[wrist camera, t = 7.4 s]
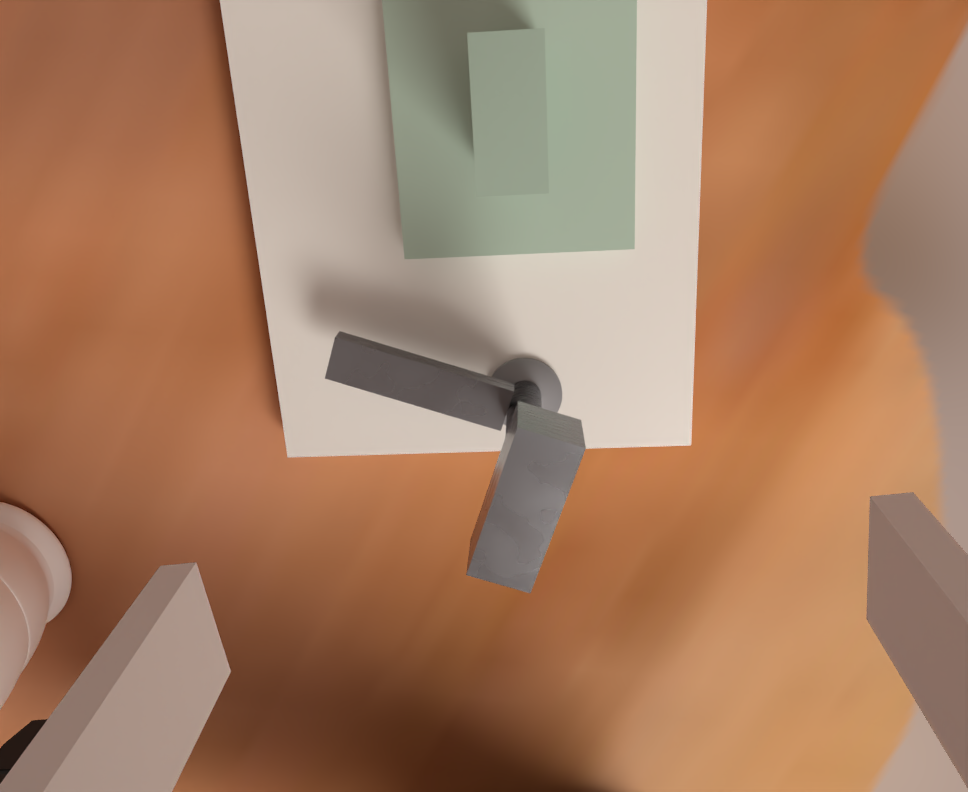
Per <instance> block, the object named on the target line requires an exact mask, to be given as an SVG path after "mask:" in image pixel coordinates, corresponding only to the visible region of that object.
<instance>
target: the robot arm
mask: <svg viewBox="0 0 968 792" xmlns="http://www.w3.org/2000/svg"><path fill="white" fill-rule="evenodd" d="M867 620H868V622H869V624H870V626H871V627H872V629H873V631H874V632H875V634H876V636H877V637H878V639H879V641H880V642H881V644H882V646H883V647H884V649H885V651H886V652H887V654H888V656H889V657H890V659H891V661H892V662H893V664H894V666H895V667H896V669H897V671H898V672H899V674H900V676H901V677H902V679H903V681H904V682H905V684H906V686H907V687H908V689H909V691H910V692H911V694H912V696H913V697H914V699H915V701H916V703H917V704H918V706H919V708H920V709H921V711H922V712H923V714H924V716H925V718H926V719H927V721H928V723H929V724H930V726H931V728H932V729H933V731H934V733H935V734H936V736H937V738H938V739H939V741H940V743H941V744H942V746H943V747H944V749H945V751H946V753H947V754H948V756H949V758H950V759H951V761H952V763H953V764H954V766H955V768H956V769H957V771H958V773H959V774H960V776H961V778H962V779H963V781H964V783H965V784H966V786H967V788H968V554H967V553H966V552H965V551H964V550H963V549H962V548H961V547H960V545H959V544H958V543H957V542H956V541H955V540H954V538H953V537H952V536H951V535H950V534H949V533H948V532H947V531H946V529H945V528H944V527H943V526H942V525H941V524H940V523H939V521H938V520H937V519H936V518H935V517H934V516H933V515H932V513H931V512H930V511H929V510H928V509H927V508H926V507H925V505H924V504H923V503H922V502H921V501H920V500H919V499H918V498H917V496H916V495H915V494H914V493H913V492H912V493H901V494H891V495H881V496H871V497H870V514H869V549H868V584H867ZM230 673H231V670H230V667H229V664H228V661H227V658H226V654H225V651H224V648H223V645H222V642H221V639H220V636H219V632H218V629H217V626H216V623H215V620H214V617H213V613H212V610H211V607H210V604H209V601H208V598H207V595H206V591H205V588H204V585H203V582H202V579H201V576H200V573H199V569H198V566H197V563H196V562H194V563H184V564H174V565H164V566H160V567H159V568H158V570H157V571H156V572H155V574H154V575H153V576H152V578H151V579H150V580H149V582H148V583H147V585H146V586H145V587H144V589H143V590H142V591H141V593H140V594H139V595H138V597H137V598H136V600H135V601H134V602H133V604H132V605H131V606H130V608H129V609H128V610H127V612H126V613H125V615H124V616H123V617H122V619H121V620H120V621H119V623H118V624H117V625H116V627H115V628H114V630H113V631H112V632H111V634H110V635H109V636H108V638H107V639H106V640H105V642H104V643H103V645H102V646H101V647H100V649H99V650H98V651H97V653H96V654H95V655H94V657H93V658H92V660H91V661H90V662H89V664H88V665H87V666H86V668H85V669H84V670H83V672H82V673H81V675H80V676H79V677H78V679H77V680H76V681H75V683H74V684H73V685H72V687H71V688H70V690H69V691H68V692H67V694H66V695H65V696H64V698H63V699H62V700H61V702H60V703H59V705H58V706H57V707H56V709H55V710H54V711H53V713H52V714H51V715H50V717H49V718H48V719H46V720H33V721H31V722H30V723H29V724H28V725H26V726H25V727H24V728H23V729H22V730H20V731H19V732H18V733H17V734H16V735H14V736H13V737H12V738H11V739H9V740H8V741H7V742H6V743H5V744H3V746H2V747H1V748H0V792H172V791H173V789H174V786H175V784H176V782H177V780H178V778H179V776H180V774H181V772H182V770H183V768H184V766H185V764H186V762H187V760H188V758H189V756H190V754H191V752H192V750H193V748H194V746H195V744H196V742H197V740H198V738H199V736H200V734H201V732H202V730H203V727H204V725H205V723H206V721H207V719H208V717H209V715H210V713H211V711H212V709H213V707H214V705H215V703H216V701H217V699H218V697H219V695H220V693H221V691H222V689H223V687H224V685H225V683H226V681H227V679H228V677H229V675H230Z"/></svg>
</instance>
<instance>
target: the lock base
mask: <svg viewBox="0 0 968 792" xmlns="http://www.w3.org/2000/svg"><path fill="white" fill-rule="evenodd" d="M220 6H221V12H222V19H223V26H224V32H225V39H226V46H227V53H228V59H229V66H230V73H231V80H232V86H233V93H234V100H235V106H236V113H237V120H238V127H239V133H240V140H241V147H242V154H243V160H244V167H245V174H246V180H247V187H248V194H249V201H250V207H251V214H252V221H253V227H254V234H255V241H256V248H257V254H258V261H259V268H260V275H261V281H262V288H263V295H264V301H265V308H266V315H267V322H268V328H269V335H270V342H271V349H272V355H273V362H274V369H275V375H276V382H277V389H278V396H279V402H280V409H281V416H282V422H283V429H284V436H285V443H286V449H287V456H288V457H316V456H350V455H384V454H417V453H451V452H485V451H501V449H502V446H503V443H504V440H505V434H506V417H507V414H506V417H505V420H504V423H503V426H502V429H501V431H499V430H495V429H492V428H489V427H485V426H482V425H479V424H475V423H472V422H469V421H465V420H462V419H459V418H455V417H452V416H449V415H445V414H442V413H438V412H435V411H432V410H428V409H425V408H422V407H418V406H415V405H412V404H408V403H405V402H402V401H398V400H395V399H392V398H388V397H385V396H381V395H378V394H375V393H371V392H368V391H365V390H361V389H358V388H355V387H351V386H348V385H345V384H341V383H338V382H335V381H331V380H328V379H325V375H326V371H327V367H328V363H329V359H330V355H331V351H332V347H333V343H334V339H335V337H336V335H337V334H338V333H339V331H341V332H345V333H348V334H351V335H355V336H358V337H361V338H364V339H368V340H371V341H374V342H378V343H381V344H384V345H388V346H391V347H394V348H398V349H401V350H404V351H407V352H411V353H414V354H417V355H421V356H424V357H427V358H431V359H434V360H437V361H441V362H444V363H447V364H450V365H454V366H457V367H460V368H464V369H467V370H470V371H474V372H477V373H480V374H484V375H487V376H490V377H493V378H497V379H500V380H503V381H507V382H510V383H513V384H514V383H516V382H518V381H522V380H527V381H531V382H533V383H535V384H536V385H537V386H538V387H539V389H540V391H541V399H542V408H543V409H547V410H550V411H553V412H557V413H560V414H563V415H566V416H570V417H573V418H576V419H580V420H581V422H582V428H583V434H584V440H585V446H586V448H620V447H654V446H687V445H691V432H692V404H693V377H694V349H695V321H696V293H697V266H698V238H699V210H700V182H701V154H702V127H703V99H704V71H705V43H706V16H707V0H637V50H636V156H635V249H628V250H605V251H583V252H560V253H537V254H515V255H492V256H470V257H447V258H425V259H404V247H403V236H402V224H401V213H400V201H399V190H398V179H397V167H396V156H395V144H394V133H393V121H392V110H391V98H390V87H389V75H388V64H387V52H386V41H385V30H384V18H383V7H382V0H220Z"/></svg>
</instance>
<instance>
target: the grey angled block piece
mask: <svg viewBox="0 0 968 792" xmlns="http://www.w3.org/2000/svg"><path fill="white" fill-rule="evenodd" d="M325 379H328V380H331V381H335V382H338V383H341V384H345V385H348V386H351V387H355V388H358V389H361V390H365V391H368V392H371V393H375V394H378V395H381V396H385V397H388V398H392V399H395V400H398V401H402V402H405V403H408V404H412V405H415V406H418V407H422V408H425V409H428V410H432V411H435V412H438V413H442V414H445V415H449V416H452V417H455V418H459V419H462V420H465V421H469V422H472V423H475V424H479V425H482V426H485V427H489V428H492V429H495V430H499V431H501V429H502V426H503V423H504V420H505V417H506V414H507V417H506V434H505V440H504V443H503V446H502V449H501V452H500V455H499V458H498V461H497V464H496V467H495V470H494V473H493V475H492V478H491V481H490V484H489V487H488V490H487V493H486V496H485V499H484V502H483V505H482V508H481V511H480V513H479V516H478V519H477V522H476V525H475V528H474V531H473V534H472V537H471V541H470V549H469V557H468V566H467V574H466V575H468V576H472V577H475V578H479V579H482V580H486V581H489V582H493V583H496V584H500V585H503V586H507V587H510V588H514V589H517V590H521V591H524V592H528V593H531V590H532V588H533V585H534V582H535V580H536V577H537V574H538V572H539V569H540V567H541V564H542V561H543V559H544V556H545V553H546V551H547V548H548V546H549V543H550V540H551V538H552V535H553V533H554V530H555V527H556V525H557V522H558V519H559V517H560V514H561V512H562V509H563V506H564V504H565V501H566V499H567V496H568V493H569V491H570V488H571V485H572V483H573V480H574V478H575V475H576V472H577V470H578V467H579V465H580V462H581V459H582V457H583V454H584V451H585V449H586V446H585V440H584V434H583V428H582V422H581V420H580V419H576V418H573V417H570V416H566V415H563V414H560V413H557V412H553V411H550V410H547V409H543V408H542V399H541V391H540V389H539V387H538V386H537V385H536V384H535V383H533V382H531V381H527V380H522V381H518V382H516V383H514V384H513V383H510V382H507V381H503V380H500V379H497V378H493V377H490V376H487V375H484V374H480V373H477V372H474V371H470V370H467V369H464V368H460V367H457V366H454V365H450V364H447V363H444V362H441V361H437V360H434V359H431V358H427V357H424V356H421V355H417V354H414V353H411V352H407V351H404V350H401V349H398V348H394V347H391V346H388V345H384V344H381V343H378V342H374V341H371V340H368V339H364V338H361V337H358V336H355V335H351V334H348V333H345V332H341V331H339V333H338V334H337V335H336V337H335V339H334V343H333V347H332V351H331V355H330V359H329V363H328V367H327V371H326V375H325Z"/></svg>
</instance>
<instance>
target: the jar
mask: <svg viewBox="0 0 968 792" xmlns="http://www.w3.org/2000/svg"><path fill="white" fill-rule="evenodd" d="M71 584H72V574H71V567H70V563H69V560H68V557H67V554H66V552H65V550H64V548H63V546H62V545H61V543H60V542H59V540H58V539H57V537H56V536H55V535H54V533H53V532H52V531H51V530H50V529H49V528H48V527H47V526H46V525H45V524H44V523H42V522H41V521H40V520H39V519H37V518H36V517H35V516H33V515H31V514H30V513H28V512H26V511H24V510H22V509H20V508H18V507H16V506H13V505H10V504H7V503H3V502H0V709H1V708H2V706H3V705H4V703H5V702H6V700H7V698H8V697H9V695H10V693H11V692H12V690H13V688H14V686H15V684H16V682H17V680H18V678H19V676H20V674H21V673H22V671H23V670H24V668H25V667H26V665H27V664H28V662H29V661H30V659H31V657H32V656H33V654H34V652H35V650H36V648H37V646H38V644H39V642H40V639H41V637H42V634H43V631H44V628H45V625H46V623H48V622H49V621H51V620H52V619H53V618H54V617H56V616H57V615H58V614H59V612H60V611H61V610H62V609H63V607H64V606H65V604H66V602H67V600H68V597H69V594H70V590H71Z"/></svg>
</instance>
